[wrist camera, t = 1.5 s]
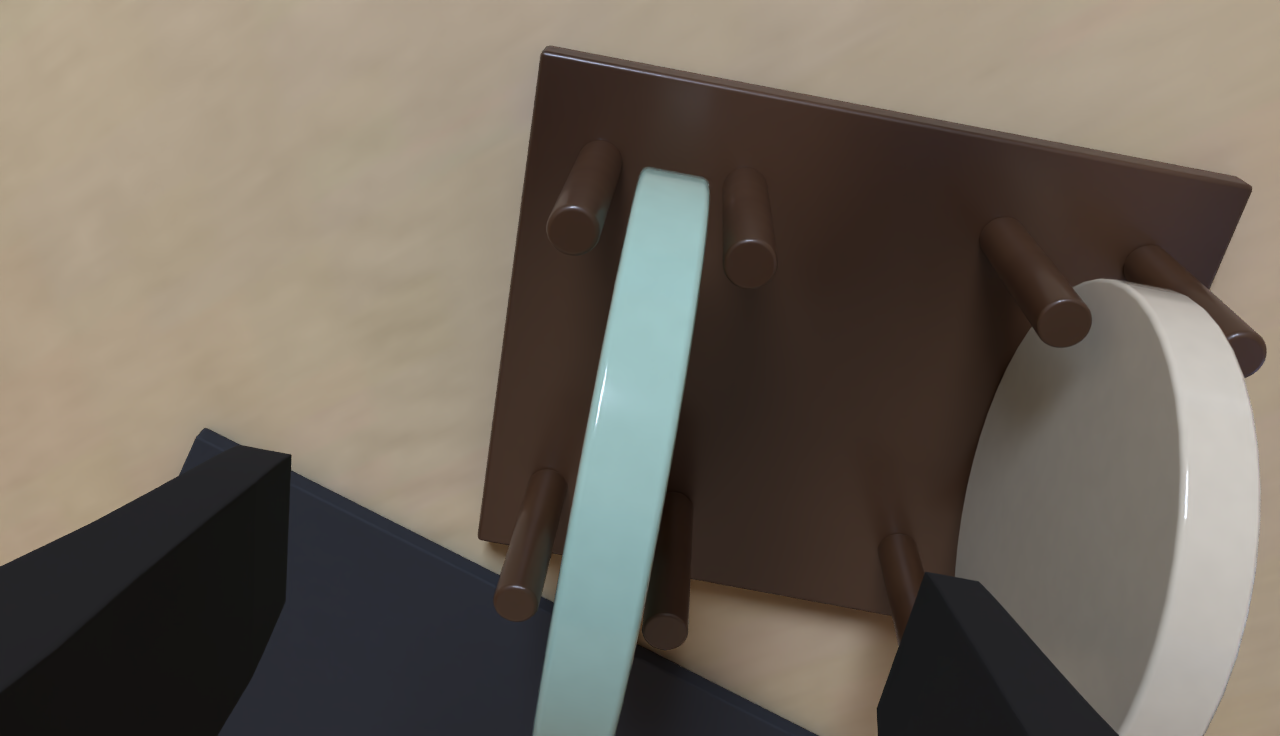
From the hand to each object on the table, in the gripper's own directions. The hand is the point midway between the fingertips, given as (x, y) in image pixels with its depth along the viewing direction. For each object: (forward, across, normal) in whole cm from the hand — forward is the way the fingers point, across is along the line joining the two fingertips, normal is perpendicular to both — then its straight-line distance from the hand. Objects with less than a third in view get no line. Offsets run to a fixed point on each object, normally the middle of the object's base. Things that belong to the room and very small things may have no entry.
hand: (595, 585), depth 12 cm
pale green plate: (+3, 0, 0) cm, 3 cm away
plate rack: (+7, -3, 0) cm, 8 cm away
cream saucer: (+3, -6, 0) cm, 7 cm away
